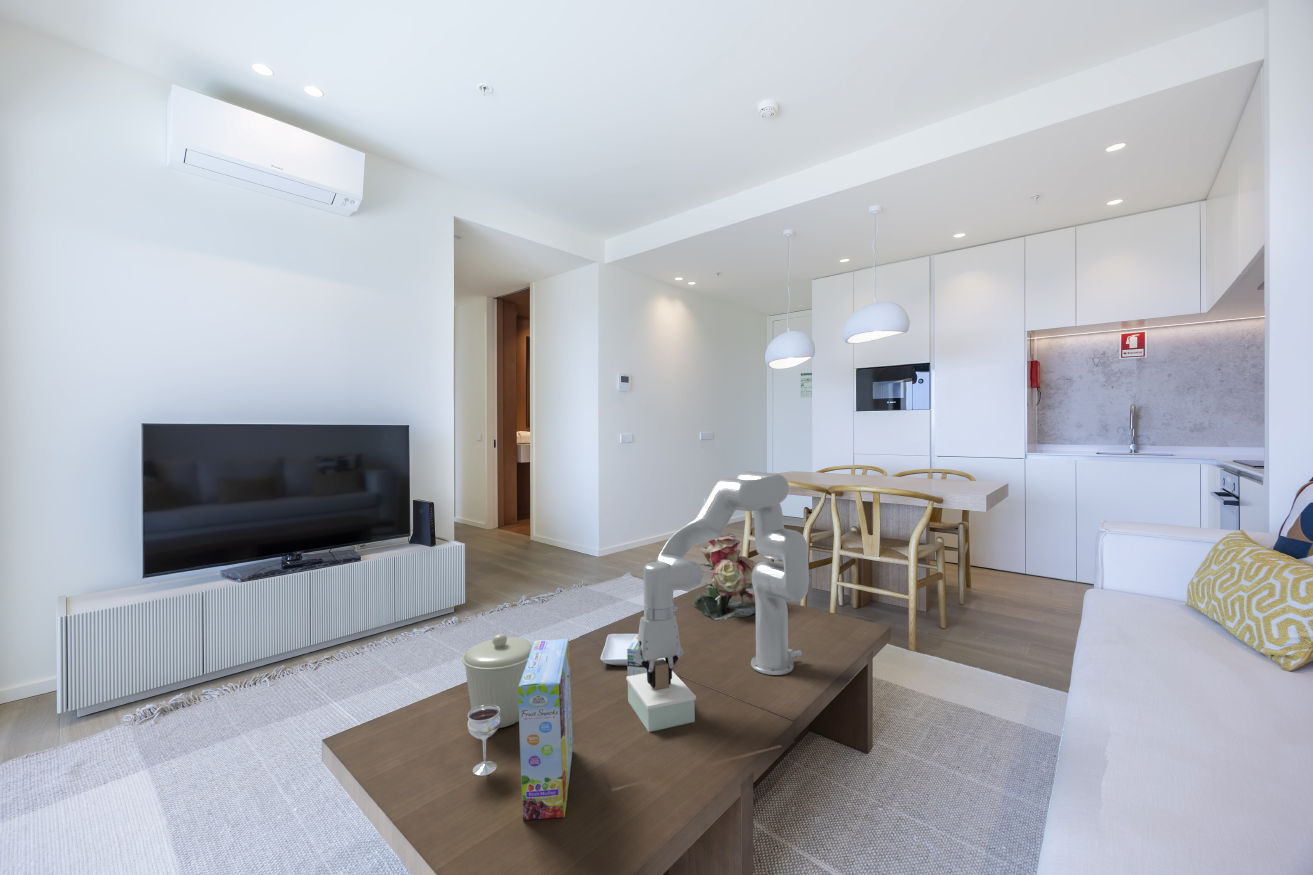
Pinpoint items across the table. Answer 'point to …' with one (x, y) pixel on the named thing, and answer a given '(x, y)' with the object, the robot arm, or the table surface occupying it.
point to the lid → (660, 687)
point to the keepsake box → (662, 713)
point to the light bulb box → (631, 664)
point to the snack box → (545, 730)
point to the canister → (497, 674)
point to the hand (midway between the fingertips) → (659, 682)
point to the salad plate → (617, 649)
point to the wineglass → (484, 732)
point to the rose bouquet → (726, 580)
